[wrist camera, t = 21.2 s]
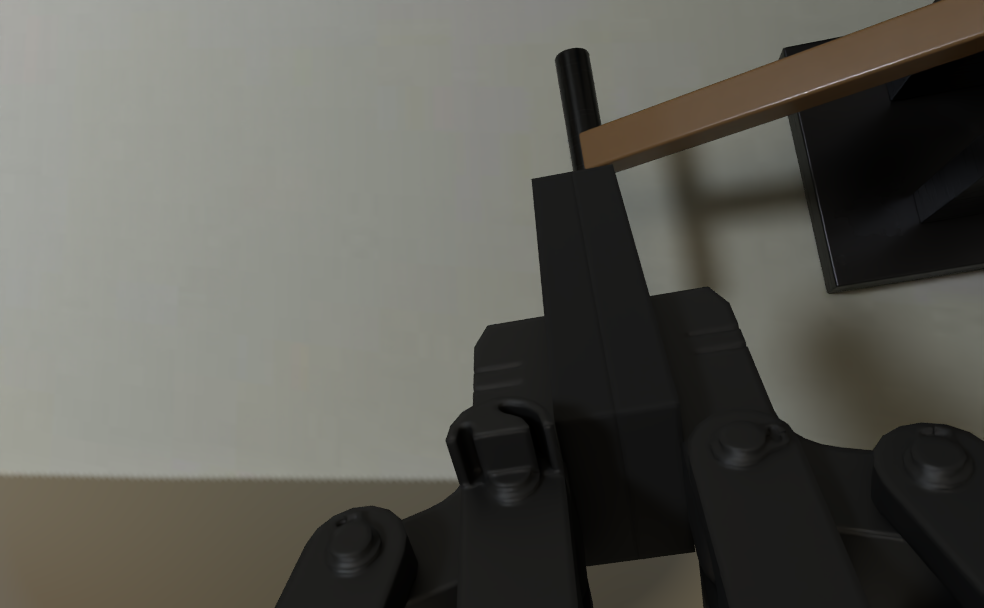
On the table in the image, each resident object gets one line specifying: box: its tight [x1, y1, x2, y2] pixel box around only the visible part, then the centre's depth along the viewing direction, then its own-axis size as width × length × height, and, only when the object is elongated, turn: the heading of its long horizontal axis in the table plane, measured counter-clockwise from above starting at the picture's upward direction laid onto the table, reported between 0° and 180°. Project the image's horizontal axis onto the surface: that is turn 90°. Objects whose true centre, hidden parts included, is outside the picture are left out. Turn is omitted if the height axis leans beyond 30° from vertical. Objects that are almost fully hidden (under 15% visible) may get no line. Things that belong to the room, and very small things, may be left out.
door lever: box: [555, 0, 984, 173], centre depth 19 cm, size 15×6×2 cm, turn 98°
